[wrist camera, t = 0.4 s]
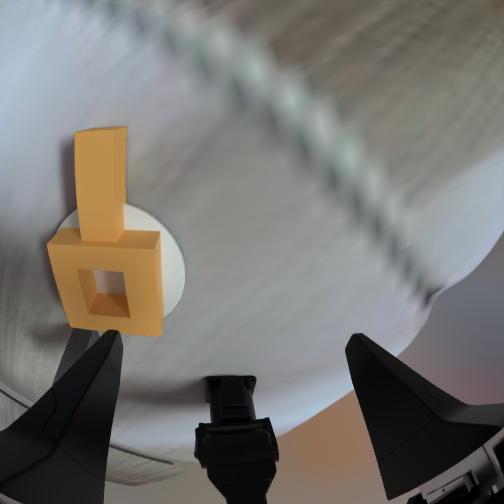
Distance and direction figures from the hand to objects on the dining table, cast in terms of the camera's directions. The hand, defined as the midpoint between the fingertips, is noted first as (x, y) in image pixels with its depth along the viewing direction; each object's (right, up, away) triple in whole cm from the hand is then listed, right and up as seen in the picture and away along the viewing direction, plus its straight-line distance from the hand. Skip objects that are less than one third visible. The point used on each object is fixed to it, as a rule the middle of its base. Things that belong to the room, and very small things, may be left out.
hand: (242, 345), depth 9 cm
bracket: (-12, +4, +11) cm, 17 cm away
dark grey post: (-18, -6, +16) cm, 25 cm away
